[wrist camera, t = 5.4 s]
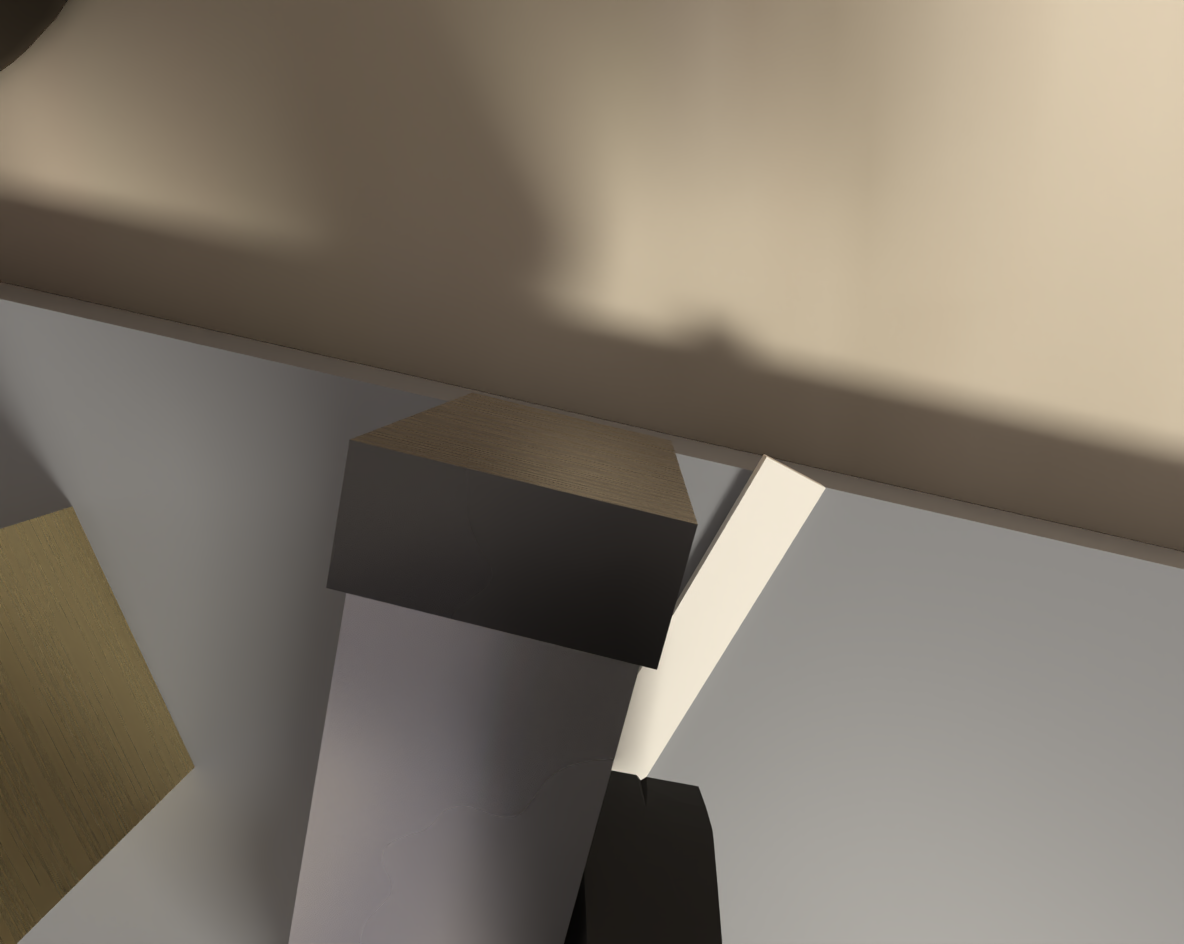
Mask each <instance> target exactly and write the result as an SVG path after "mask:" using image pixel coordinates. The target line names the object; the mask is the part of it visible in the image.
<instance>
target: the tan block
mask: <svg viewBox="0 0 1184 944" xmlns="http://www.w3.org/2000/svg"><path fill="white" fill-rule="evenodd" d="M194 767H195V766H194V764H193V762H192V760H191V757H190V755H189V753H188V751H187V749H186V747H185V745H184V743H183V740H182V738H181V736H180V734H179V732H178V730H177V728H176V726H175V723H174V721H173V719H172V717H171V715H170V713H169V711H168V709H167V706H166V704H165V702H164V700H163V698H162V696H161V694H160V692H159V689H158V687H157V685H156V683H155V681H154V679H153V677H152V675H151V672H150V670H149V668H148V666H147V664H146V662H145V660H144V658H143V655H142V653H141V651H140V649H139V647H138V645H137V643H136V641H135V638H134V636H133V634H132V632H131V630H130V628H129V626H128V624H127V621H126V619H125V617H124V615H123V613H122V611H121V609H120V607H119V604H118V602H117V600H116V598H115V596H114V594H113V592H112V590H111V587H110V585H109V583H108V581H107V579H106V577H105V575H104V573H103V570H102V568H101V566H100V564H99V562H98V560H97V558H96V556H95V553H94V551H93V549H92V547H91V545H90V543H89V541H88V539H87V536H86V534H85V532H84V530H83V528H82V526H81V524H80V522H79V519H78V517H77V515H76V513H75V511H74V509H73V507H69V508H66V509H62V510H59V511H56V512H53V513H50V514H46V515H43V516H40V517H37V518H34V519H31V520H27V521H24V522H21V523H18V524H15V525H11V526H8V527H5V528H2V529H0V944H17V943H18V942H19V941H20V940H21V939H22V938H23V937H24V936H25V935H26V934H27V933H28V932H29V931H30V930H31V929H32V928H33V927H34V926H35V925H36V924H37V923H38V922H39V921H40V920H41V919H42V918H43V917H44V916H45V915H46V914H47V913H48V912H49V911H50V910H51V909H52V908H53V907H54V906H55V905H56V904H57V903H58V902H59V901H60V900H61V899H62V898H63V897H64V896H65V895H66V894H67V893H68V892H69V891H70V890H71V889H72V888H73V887H74V886H75V885H76V884H77V883H78V882H79V881H80V880H81V879H82V878H83V877H84V876H85V875H86V874H87V873H88V872H89V871H90V870H91V869H92V868H93V867H95V866H96V865H97V864H98V863H99V862H100V861H101V860H102V859H103V858H104V857H105V856H106V855H107V854H108V853H109V852H110V851H111V850H112V849H113V848H114V847H115V846H116V845H117V844H118V843H119V842H120V841H121V840H122V839H123V838H124V837H125V836H126V835H127V834H128V833H129V832H130V831H131V830H132V829H133V828H134V827H135V826H136V825H137V824H138V823H139V822H140V821H141V820H142V819H143V818H144V817H145V816H146V815H147V814H148V813H149V812H150V811H151V810H152V809H153V808H154V807H155V806H156V805H157V804H158V803H159V802H160V801H161V800H162V799H163V798H164V797H165V796H166V795H167V794H168V793H169V792H170V791H171V790H172V789H173V788H174V787H175V786H176V785H177V784H178V783H179V782H180V781H181V780H182V779H183V778H184V777H185V776H186V775H187V774H188V773H189V772H190V771H191V770H192V769H193V768H194Z"/></svg>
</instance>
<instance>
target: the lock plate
mask: <svg viewBox="0 0 1184 944" xmlns="http://www.w3.org/2000/svg"><path fill="white" fill-rule="evenodd" d="M472 392H473V393H477V394H481V395H485V396H489V397H493V398H497V399H501V400H506V401H510V402H514V403H518V404H522V405H526V406H530V407H534V408H539V409H543V410H547V411H551V412H555V413H559V414H563V415H567V416H572V417H576V418H580V419H584V420H588V421H592V422H596V423H600V424H605V425H609V426H613V427H617V428H621V429H625V430H629V431H633V432H638V433H642V434H646V435H650V436H654V437H658V438H662V439H666V440H671V441H672V444H673V447H674V451H675V454H676V457H677V460H678V463H679V466H680V470H681V473H682V476H683V479H684V482H685V485H686V489H687V492H688V495H689V498H690V501H691V504H692V508H693V511H694V514H695V517H696V520H697V523H698V526H697V529H696V533H695V536H694V540H693V543H692V547H691V551H690V554H689V558H688V561H687V565H686V568H685V572H684V576H683V579H682V583H681V586H680V590H679V593H678V597H677V601H676V604H675V608H674V611H673V615H672V618H671V622H670V626H669V629H668V633H667V636H666V640H665V643H664V647H663V651H662V654H661V658H660V661H659V665H658V668H657V670H656V669H652V668H648V667H644V666H640V667H639V671H638V675H637V678H636V682H635V685H634V689H633V693H632V696H631V700H630V704H629V707H628V711H627V715H626V718H625V722H624V726H623V729H622V733H621V737H620V740H619V744H618V748H617V751H616V755H615V759H614V762H613V766H612V771H618V772H623V773H629V774H634V775H637V776H638V777H639V779H640V780H642V779H643V778H645V777H650V778H656V779H661V780H667V781H672V782H678V783H683V784H689V785H694V786H699V789H700V792H701V795H702V797H703V800H704V803H705V806H706V809H707V812H708V816H709V819H710V823H711V826H712V830H713V838H714V849H715V860H716V872H717V883H718V896H719V908H720V921H721V934H722V944H1184V552H1182V551H1178V550H1173V549H1169V548H1165V547H1160V546H1156V545H1152V544H1147V543H1143V542H1138V541H1134V540H1130V539H1125V538H1121V537H1116V536H1112V535H1108V534H1103V533H1099V532H1095V531H1090V530H1086V529H1081V528H1077V527H1073V526H1068V525H1064V524H1059V523H1055V522H1051V521H1046V520H1042V519H1038V518H1033V517H1029V516H1024V515H1020V514H1016V513H1011V512H1007V511H1002V510H998V509H994V508H989V507H985V506H981V505H976V504H972V503H967V502H963V501H959V500H954V499H950V498H945V497H941V496H937V495H932V494H928V493H924V492H919V491H915V490H910V489H906V488H902V487H897V486H893V485H888V484H884V483H880V482H875V481H871V480H867V479H862V478H858V477H853V476H849V475H845V474H840V473H836V472H831V471H827V470H823V469H818V468H814V467H810V466H805V465H801V464H796V463H792V462H788V461H783V460H779V459H774V458H771V457H769V456H767V455H765V454H763V456H761V455H757V454H753V453H748V452H744V451H739V450H735V449H731V448H726V447H722V446H717V445H713V444H709V443H704V442H700V441H696V440H691V439H687V438H682V437H678V436H674V435H669V434H665V433H660V432H656V431H652V430H647V429H643V428H639V427H634V426H630V425H625V424H621V423H617V422H612V421H608V420H603V419H599V418H595V417H590V416H586V415H582V414H577V413H573V412H568V411H564V410H560V409H555V408H551V407H546V406H542V405H538V404H533V403H529V402H525V401H520V400H516V399H511V398H507V397H503V396H498V395H494V394H489V393H485V392H481V391H476V390H472V389H467V388H463V387H459V386H454V385H450V384H446V383H441V382H437V381H432V380H428V379H424V378H419V377H415V376H410V375H406V374H402V373H397V372H393V371H389V370H384V369H380V368H375V367H371V366H367V365H362V364H358V363H353V362H349V361H345V360H340V359H336V358H332V357H327V356H323V355H318V354H314V353H310V352H305V351H301V350H296V349H292V348H288V347H283V346H279V345H275V344H270V343H266V342H261V341H257V340H253V339H248V338H244V337H239V336H235V335H231V334H226V333H222V332H218V331H213V330H209V329H204V328H200V327H196V326H191V325H187V324H182V323H178V322H174V321H169V320H165V319H161V318H156V317H152V316H147V315H143V314H139V313H134V312H130V311H125V310H121V309H117V308H112V307H108V306H104V305H99V304H95V303H90V302H86V301H82V300H77V299H73V298H68V297H64V296H60V295H55V294H51V293H47V292H42V291H38V290H33V289H29V288H25V287H20V286H16V285H11V284H7V283H3V282H0V529H2V528H5V527H8V526H11V525H15V524H18V523H21V522H24V521H27V520H31V519H34V518H37V517H40V516H43V515H46V514H50V513H53V512H56V511H59V510H62V509H66V508H69V507H73V509H74V511H75V513H76V515H77V517H78V519H79V522H80V524H81V526H82V528H83V530H84V532H85V534H86V536H87V539H88V541H89V543H90V545H91V547H92V549H93V551H94V553H95V556H96V558H97V560H98V562H99V564H100V566H101V568H102V570H103V573H104V575H105V577H106V579H107V581H108V583H109V585H110V587H111V590H112V592H113V594H114V596H115V598H116V600H117V602H118V604H119V607H120V609H121V611H122V613H123V615H124V617H125V619H126V621H127V624H128V626H129V628H130V630H131V632H132V634H133V636H134V638H135V641H136V643H137V645H138V647H139V649H140V651H141V653H142V655H143V658H144V660H145V662H146V664H147V666H148V668H149V670H150V672H151V675H152V677H153V679H154V681H155V683H156V685H157V687H158V689H159V692H160V694H161V696H162V698H163V700H164V702H165V704H166V706H167V709H168V711H169V713H170V715H171V717H172V719H173V721H174V723H175V726H176V728H177V730H178V732H179V734H180V736H181V738H182V740H183V743H184V745H185V747H186V749H187V751H188V753H189V755H190V757H191V760H192V762H193V764H194V766H195V767H194V768H193V769H192V770H191V771H190V772H189V773H188V774H187V775H186V776H185V777H184V778H183V779H182V780H181V781H180V782H179V783H178V784H177V785H176V786H175V787H174V788H173V789H172V790H171V791H170V792H169V793H168V794H167V795H166V796H165V797H164V798H163V799H162V800H161V801H160V802H159V803H158V804H157V805H156V806H155V807H154V808H153V809H152V810H151V811H150V812H149V813H148V814H147V815H146V816H145V817H144V818H143V819H142V820H141V821H140V822H139V823H138V824H137V825H136V826H135V827H134V828H133V829H132V830H131V831H130V832H129V833H128V834H127V835H126V836H125V837H124V838H123V839H122V840H121V841H120V842H119V843H118V844H117V845H116V846H115V847H114V848H113V849H112V850H111V851H110V852H109V853H108V854H107V855H106V856H105V857H104V858H103V859H102V860H101V861H100V862H99V863H98V864H97V865H96V866H95V867H93V868H92V869H91V870H90V871H89V872H88V873H87V874H86V875H85V876H84V877H83V878H82V879H81V880H80V881H79V882H78V883H77V884H76V885H75V886H74V887H73V888H72V889H71V890H70V891H69V892H68V893H67V894H66V895H65V896H64V897H63V898H62V899H61V900H60V901H59V902H58V903H57V904H56V905H55V906H54V907H53V908H52V909H51V910H50V911H49V912H48V913H47V914H46V915H45V916H44V917H43V918H42V919H41V920H40V921H39V922H38V923H37V924H36V925H35V926H34V927H33V928H32V929H31V930H30V931H29V932H28V933H27V934H26V935H25V936H24V937H23V938H22V939H21V940H20V941H19V942H18V943H17V944H288V943H289V937H290V931H291V925H292V919H293V913H294V907H295V901H296V894H297V888H298V882H299V876H300V870H301V864H302V858H303V852H304V846H305V840H306V834H307V828H308V822H309V816H310V810H311V804H312V798H313V792H314V785H315V779H316V773H317V767H318V761H319V755H320V749H321V743H322V737H323V731H324V725H325V719H326V713H327V707H328V701H329V695H330V689H331V683H332V677H333V670H334V664H335V658H336V652H337V646H338V640H339V634H340V628H341V622H342V616H343V610H344V604H345V598H346V593H344V592H340V591H336V590H332V589H328V588H326V585H327V579H328V573H329V566H330V560H331V554H332V547H333V541H334V535H335V528H336V522H337V516H338V509H339V503H340V497H341V490H342V484H343V478H344V471H345V465H346V459H347V452H348V446H349V440H350V439H352V438H355V437H357V436H360V435H363V434H365V433H368V432H370V431H373V430H376V429H378V428H381V427H384V426H386V425H389V424H391V423H394V422H397V421H399V420H402V419H404V418H407V417H410V416H412V415H415V414H417V413H420V412H423V411H425V410H428V409H430V408H433V407H436V406H438V405H441V404H444V403H446V402H449V401H451V400H454V399H457V398H459V397H462V396H464V395H467V394H470V393H472Z"/></svg>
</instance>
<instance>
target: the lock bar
mask: <svg viewBox="0 0 1184 944" xmlns="http://www.w3.org/2000/svg"><path fill="white" fill-rule="evenodd" d="M697 526H698V523H697V520H696V517H695V514H694V511H693V508H692V504H691V501H690V498H689V495H688V492H687V489H686V485H685V482H684V479H683V476H682V473H681V470H680V466H679V463H678V460H677V457H676V454H675V451H674V447H673V444H672V441H671V440H666V439H662V438H658V437H654V436H650V435H646V434H642V433H638V432H633V431H629V430H625V429H621V428H617V427H613V426H609V425H605V424H600V423H596V422H592V421H588V420H584V419H580V418H576V417H572V416H567V415H563V414H559V413H555V412H551V411H547V410H543V409H539V408H534V407H530V406H526V405H522V404H518V403H514V402H510V401H506V400H501V399H497V398H493V397H489V396H485V395H481V394H477V393H473V392H472V393H470V394H467V395H464V396H462V397H459V398H457V399H454V400H451V401H449V402H446V403H444V404H441V405H438V406H436V407H433V408H430V409H428V410H425V411H423V412H420V413H417V414H415V415H412V416H410V417H407V418H404V419H402V420H399V421H397V422H394V423H391V424H389V425H386V426H384V427H381V428H378V429H376V430H373V431H370V432H368V433H365V434H363V435H360V436H357V437H355V438H352V439H350V440H349V446H348V452H347V459H346V465H345V471H344V478H343V484H342V490H341V497H340V503H339V509H338V516H337V522H336V528H335V535H334V541H333V547H332V554H331V560H330V566H329V573H328V579H327V585H326V588H328V589H332V590H336V591H340V592H344V593H346V598H345V604H344V610H343V616H342V622H341V628H340V634H339V640H338V646H337V652H336V658H335V664H334V670H333V677H332V683H331V689H330V695H329V701H328V707H327V713H326V719H325V725H324V731H323V737H322V743H321V749H320V755H319V761H318V767H317V773H316V779H315V785H314V792H313V798H312V804H311V810H310V816H309V822H308V828H307V834H306V840H305V846H304V852H303V858H302V864H301V870H300V876H299V882H298V888H297V894H296V901H295V907H294V913H293V919H292V925H291V931H290V937H289V943H288V944H564V941H565V938H566V934H567V930H568V927H569V923H570V919H571V916H572V912H573V908H574V905H575V901H576V897H577V894H578V890H579V886H580V883H581V879H582V875H583V872H584V868H585V865H586V861H587V857H588V854H589V850H590V846H591V843H592V839H593V835H594V832H595V828H596V824H597V821H598V817H599V813H600V810H601V806H602V802H603V799H604V795H605V791H606V788H607V784H608V780H609V777H610V773H611V770H612V766H613V762H614V759H615V755H616V751H617V748H618V744H619V740H620V737H621V733H622V729H623V726H624V722H625V718H626V715H627V711H628V707H629V704H630V700H631V696H632V693H633V689H634V685H635V682H636V678H637V675H638V671H639V667H640V666H644V667H648V668H652V669H656V670H657V668H658V665H659V661H660V658H661V654H662V651H663V647H664V643H665V640H666V636H667V633H668V629H669V626H670V622H671V618H672V615H673V611H674V608H675V604H676V601H677V597H678V593H679V590H680V586H681V583H682V579H683V576H684V572H685V568H686V565H687V561H688V558H689V554H690V551H691V547H692V543H693V540H694V536H695V533H696V529H697Z"/></svg>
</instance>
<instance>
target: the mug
mask: <svg viewBox="0 0 1184 944" xmlns="http://www.w3.org/2000/svg"><path fill="white" fill-rule="evenodd" d="M66 2H67V0H0V71H1V70H3V69H4V68H6V67H7V66H8V65H10V64H11V63H12V62H14V61H15V60H16V59H17V58H18V57H19V56H20V55H22V54H23V53H24V52H25V51H26V50H27V49H28V48H29V47H30V46H31V45H32V44H33V42H34V41H35V40H36V39H37V38H38V37H39V36H40V35H41V34H42V33H43V32H44V31H45V30H46V29H47V27H48V26H49V25H50V24H51V23H52V22H53V21H54V20H55V19H56V17H57V15H58V14H59V12H60V11H61V9H62V8H63V6H64V5H65V3H66Z"/></svg>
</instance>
